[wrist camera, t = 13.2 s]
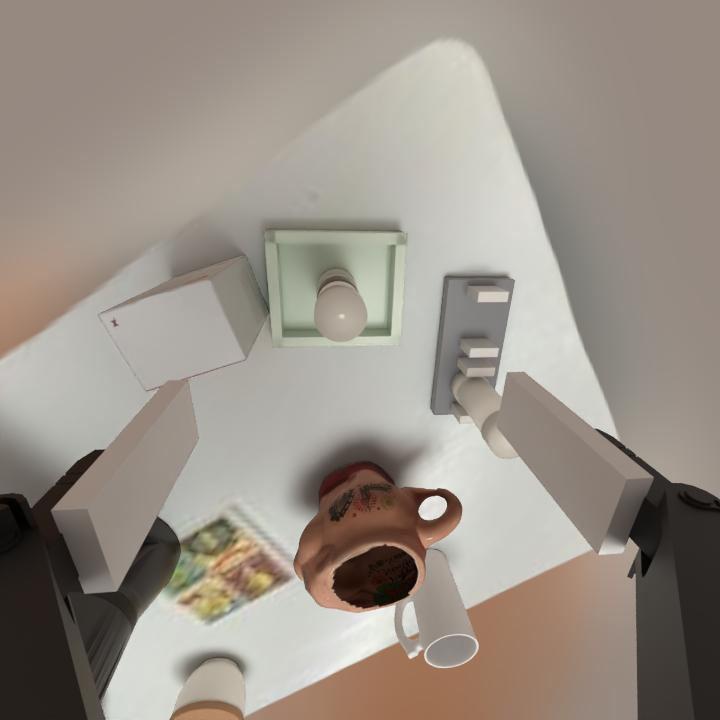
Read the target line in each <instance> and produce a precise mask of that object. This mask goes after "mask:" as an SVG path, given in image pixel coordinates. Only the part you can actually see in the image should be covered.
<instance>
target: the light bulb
mask: <svg viewBox="0 0 720 720" xmlns="http://www.w3.org/2000/svg"><path fill="white" fill-rule="evenodd" d="M316 293H317V300H316V303H315V308H314V322H315V325H316V327H317V329H318V331H319V332H320V333H321V334H322V335H323V336H324V337H325V338H327V339H329V340H331V341H335V342H346V341H350V340H352V339H354V338H356V337H357V336H358V335H360V334H361V332H362V331H363V330H364V328H365V326H366V323H367V318H368V314H367V309H366V306H365V303H364V301H363V299H362V297H361V295H360V294H359V292H358V290H357V285H356V282H355V280H354V278H353V276H352V275H351V274H350V273H349V272H348V271H347V270H345V269H342V268H337V267H335V268H330V269H328V270H326V271H324V272H323V273H322V274H321V275H320V277H319V279H318V282H317V289H316Z"/></svg>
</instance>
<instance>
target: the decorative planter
mask: <svg viewBox="0 0 720 720" xmlns="http://www.w3.org/2000/svg"><path fill="white" fill-rule="evenodd" d="M431 496H440V497H443V498H445V500H446V502H447V509H446V511H445V513H444V514H443V515H442V516H441V517H439V518H437V519H434V520H424V519H422V518H421V517H420V515H419V513H418V510H419V507H420V505H421V503H422V502H423V501H424V500H425V499H426V498H428V497H431ZM461 516H462V505H461V502H460V501H459V499H458V498H457V497H456V496H455V495H454V494H453V493H451V492H450V491H448V490H446V489H440V488H438V489H436V490H434V489H424V488H413V487H404V488H401V489H398V488H397V487H396V486H395V484H394V481H393V479H392V478H391V477H390V476H389V475H388V474H387V473H386V472H385V471H384V470H383V469H382V468H381V467H379V466H378V465H376V464H374V463H371V462H357V463H353V464H349V465H346V466H344V467H342V468H340V469H338V470H337V471H335V472H334V473H332V474H330V475H328V476H327V477H326V478H325V479H324V480H323V482H322V484H321V487H320V491H319V512H318V514H317V515H316V516H315V517H314V518H313V519H312V520H311V521H310V522H309V524H308V525H307V526H306V528H305V529H304V531H303V533H302V535H301V538H300V542H299V549H298V551H297V554H296V556H295V559H294V569H295V572H296V574H297V575H298V577H299V578H300V579H301V580H303V581H304V583H305V588H306V590H307V591H308V593H309V594H310V595H311V596H312V597H313V599H314V600H315V601H316V603H317V604H318V605H320V606H322V607H325V608H333V609H339V610H343V611H348V612H354V613H360V612H365V611H370V610H375V609H379V608H384V607H388V606H392V605H395V604H397V603H400V602H402V601H404V600H406V599H407V598H409V597H410V596H412V595H413V594H414V593H415V592H416V591H417V590H418V589H419V588H420V586H421V585H422V583H423V581H424V578H425V572H426V566H425V558H426V552H427V548H428V547H429V546H430V545H431V544H433V543H435V542H437V541H439V540H441V539H443V538H444V537H446V536H447V535H448V534H450V533H451V532H452V531H453V530H454V529H455V528H456V527H457V525H458V524H459V522H460V520H461Z"/></svg>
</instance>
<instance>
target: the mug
mask: <svg viewBox="0 0 720 720" xmlns="http://www.w3.org/2000/svg"><path fill="white" fill-rule="evenodd" d="M425 566H426V572H425V578H424V581H423V583H422V585H421V586H420V588H419V589H418V590H417V591H416V592H415V593H414V594H413V595H412V596H410V597H409V598H407V599H406V600H404V601H402V602H400V603H397V604H396V609H395V618H394V622H395V631H396V634H397V637H398V639H399V641H400V643H401V644H402V646H403V648H404V649H405V651H406V652H407V655H408V657H409V658H410V659H411V658H413V657H414V656H417V655H418V652H419V651H420V650H423V651H424V657H425V660H426V662H427V663H428V664H430V665H432V666H434V667H438V668H449V667H455V666H458V665H461V664H463V663H465V662H467V661H469V660H470V659H471V658H472V657H474V655H475V654H476V652H477V651H478V647H479V646H478V642H477V640H476V638H475V634H474V631H473V628H472V626H471V623H470V620H469V618H468V615H467V613H466V610H465V607H464V604H463V602H462V599H461V597H460V594H459V591H458V589H457V586H456V583H455V580H454V578H453V575H452V573H451V570H450V568H449V565H448V562H447V560H446V557H445V556H444V554H443V553H441V552H440V551H438V550H434V549H427V552H426V558H425ZM411 601H413V603H414V608H415V613H416V618H417V623H418V628H419V637H418V638H417V639H415V640H410V639H408V638H407V637H406V635H405V633H404V631H403V626H402V615H403V610H404V608H405V606H406V604H407V603H409V602H411Z"/></svg>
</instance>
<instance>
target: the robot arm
mask: <svg viewBox="0 0 720 720" xmlns="http://www.w3.org/2000/svg"><path fill="white" fill-rule="evenodd" d="M497 428H498V430H499V431H500V432H501V433H502V435H503V436H504V437H505V439H506V440H507V441H508V442H509V444H510V445H511V446H512V447H513V449H514V450H515V451H516V452H517V454H518V455H519V456H520V457H521V459H522V460H523V461H524V462H525V464H526V465H527V466H528V467H529V469H530V470H531V471H532V472H533V474H534V475H535V476H536V478H537V479H538V480H539V481H540V483H541V484H542V485H543V486H544V488H545V489H546V490H547V491H548V493H549V494H550V495H551V496H552V498H553V499H554V500H555V501H556V503H557V504H558V505H559V506H560V508H561V509H562V510H563V511H564V513H565V514H566V515H567V517H568V518H569V519H570V520H571V522H572V523H573V524H574V525H575V527H576V528H577V529H578V530H579V532H580V533H581V534H582V535H583V537H584V538H585V539H586V540H587V542H588V543H589V544H590V545H591V547H592V548H593V549H594V550H595V552H596V553H597V554H598V555H603V554H617V553H623V551H624V548H625V546H626V543H627V541H628V539H629V537H630V538H631V539H632V540H633V541H634V542H635V543H636V545H637V546H638V547H639V550H638V553H637V555H636V557H635V560H634V562H633V564H632V566H631V568H630V571H629V574H628V577H629V578H632V577H633V575H634V574H635V573H636V628H637V692H638V693H637V697H638V720H720V499H718V498H717V497H715V496H714V495H712V494H710V493H708V492H707V491H705V490H702V489H699V488H697V487H694V486H691V485H687V484H683V483H671V482H670V481H669V480H667V479H666V478H665V477H663V476H662V475H661V474H660V473H659V472H657V471H656V470H655V469H653V468H652V467H651V466H650V465H648V464H647V463H646V462H644V461H643V460H642V459H641V458H639V457H636V455H635V454H634V453H633V452H632V451H631V450H629V449H626V448H625V446H624V445H623V444H622V443H620V442H619V441H618V440H617V439H615V438H614V437H612V436H610V435H609V434H607V433H605V432H603V431H601V430H599V429H594V428H592V427H591V426H590V425H589V424H588V423H586V422H585V421H584V420H583V419H581V418H580V417H579V416H578V415H576V414H575V413H574V412H573V411H572V410H570V409H569V408H568V407H567V406H565V405H564V404H563V403H562V402H560V401H559V400H558V399H557V398H556V397H554V396H553V395H552V394H551V393H549V392H548V391H547V390H546V389H544V388H543V387H542V386H541V385H540V384H538V383H537V382H536V381H535V380H533V379H532V378H531V377H530V376H528V375H527V374H526V373H525V372H507V375H506V380H505V386H504V391H503V396H502V401H501V406H500V411H499V417H498V422H497ZM198 439H199V436H198V431H197V426H196V420H195V415H194V409H193V404H192V398H191V393H190V387H189V382H188V380H168V381H167V382H166V383H165V384H164V385H163V386H162V387H161V389H160V390H159V391H158V392H157V393H156V394H155V395H154V396H153V397H152V399H151V400H150V401H149V402H148V403H147V404H146V405H145V406H144V407H143V409H142V410H141V411H140V412H139V413H138V414H137V415H136V416H135V417H134V419H133V420H132V421H131V422H130V423H129V424H128V425H127V426H126V427H125V429H124V430H123V431H122V432H121V433H120V434H119V435H118V436H117V437H116V439H115V440H114V441H113V442H112V443H111V444H110V445H109V446H108V447H107V449H106V450H94V451H92V452H91V453H89V454H88V455H86V456H85V457H83V458H81V459H80V460H78V461H77V462H76V463H75V464H74V465H73V466H72V467H71V468H70V469H69V470H68V471H67V472H66V475H65V476H62V477H61V478H60V480H59V481H58V482H57V483H56V485H55V486H53V487H52V488H51V489H50V490H49V491H48V492H47V493H46V494H45V495H44V496H43V497H42V498H41V499H40V500H39V501H38V502H37V503H36V504H35V505H34V506H33V507H32V508H30V506H29V504H28V501H27V499H26V498H25V497H24V496H23V495H20V494H15V493H10V494H2V495H0V720H105V717H104V713H103V710H102V706H101V702H102V699H103V697H104V695H105V692H106V690H107V688H108V686H109V683H110V681H111V679H112V677H113V674H114V672H115V670H116V668H117V665H118V663H119V661H120V659H121V656H122V654H123V652H124V650H125V647H126V645H127V643H128V640H129V638H130V636H131V634H132V631H133V629H134V627H135V625H136V623H137V621H138V619H139V618H140V616H141V615H142V614H143V613H144V611H145V610H146V609H147V608H148V607H149V605H150V604H151V603H152V602H153V601H154V599H155V598H156V597H157V596H158V594H159V593H160V592H161V590H162V589H163V588H164V587H165V586H166V585H167V584H168V582H169V581H170V579H171V577H172V575H173V573H174V571H175V568H176V566H177V564H178V561H179V558H180V546H179V542H178V540H177V538H176V536H175V534H174V533H173V531H172V530H171V529H170V528H169V527H168V526H167V525H166V524H165V523H164V522H162V521H161V520H159V519H158V518H157V516H158V514H159V512H160V510H161V508H162V506H163V505H164V503H165V501H166V499H167V497H168V495H169V493H170V492H171V490H172V488H173V486H174V484H175V482H176V480H177V478H178V477H179V475H180V473H181V471H182V469H183V467H184V465H185V464H186V462H187V460H188V458H189V456H190V454H191V452H192V451H193V449H194V447H195V445H196V443H197V441H198Z"/></svg>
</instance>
